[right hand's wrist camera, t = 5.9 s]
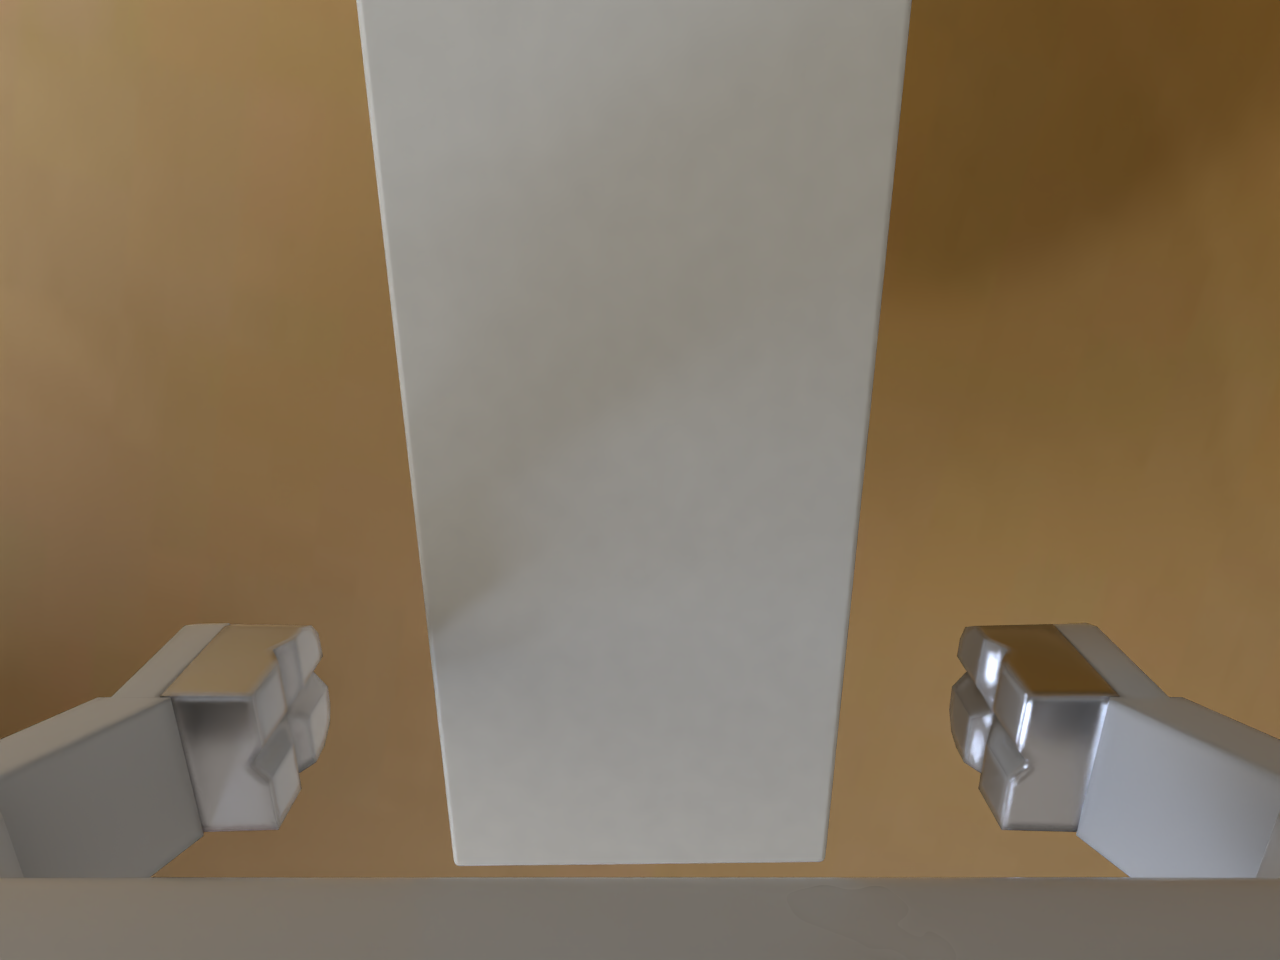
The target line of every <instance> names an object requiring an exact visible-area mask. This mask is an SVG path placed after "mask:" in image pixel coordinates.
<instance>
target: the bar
mask: <svg viewBox="0 0 1280 960" xmlns="http://www.w3.org/2000/svg"><path fill="white" fill-rule="evenodd" d="M356 2H357V11H358V20H359V28H360V37H361V46H362V55H363V64H364V72H365V81H366V90H367V99H368V108H369V117H370V125H371V134H372V143H373V152H374V161H375V169H376V178H377V187H378V196H379V205H380V214H381V222H382V231H383V240H384V249H385V258H386V266H387V275H388V284H389V293H390V302H391V311H392V319H393V328H394V337H395V346H396V355H397V363H398V372H399V381H400V390H401V399H402V408H403V416H404V425H405V434H406V443H407V452H408V461H409V469H410V478H411V487H412V496H413V505H414V513H415V522H416V531H417V540H418V549H419V558H420V566H421V575H422V584H423V593H424V602H425V610H426V619H427V628H428V637H429V646H430V655H431V663H432V672H433V681H434V690H435V699H436V707H437V716H438V725H439V734H440V743H441V752H442V760H443V769H444V778H445V787H446V796H447V804H448V813H449V822H450V831H451V840H452V849H453V857H454V862H455V864H456V865H458V866H498V865H587V864H675V863H763V862H821V861H823V860H824V858H825V854H826V844H827V835H828V825H829V815H830V805H831V795H832V785H833V775H834V765H835V755H836V745H837V736H838V726H839V716H840V706H841V696H842V686H843V676H844V666H845V656H846V647H847V637H848V627H849V617H850V607H851V597H852V587H853V577H854V567H855V558H856V548H857V538H858V528H859V518H860V508H861V498H862V488H863V478H864V468H865V459H866V449H867V439H868V429H869V419H870V409H871V399H872V389H873V379H874V370H875V360H876V350H877V340H878V330H879V320H880V310H881V300H882V290H883V280H884V271H885V261H886V251H887V241H888V231H889V221H890V211H891V201H892V191H893V182H894V172H895V162H896V152H897V142H898V132H899V122H900V112H901V102H902V92H903V83H904V73H905V63H906V53H907V43H908V33H909V23H910V13H911V3H912V0H356Z"/></svg>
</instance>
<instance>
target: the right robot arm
mask: <svg viewBox="0 0 1280 960" xmlns="http://www.w3.org/2000/svg"><path fill="white" fill-rule="evenodd" d="M322 657H323V654H322V649H321V644H320V639H319V634H318V632H317V631H316V630H315V629H314V628H313V627H312V626H311V625H266V624H229V623H213V624H191V625H185V626H184V627H182V628H181V629H180V630H179V631H178V632H177V633H176V634H175V635H174V636H173V637H172V638H171V639H170V640H169V641H168V642H167V643H166V644H165V645H164V646H163V647H162V648H161V649H160V650H159V651H158V652H157V653H156V654H155V655H154V656H153V657H152V658H151V659H150V660H149V661H148V662H147V663H146V664H145V665H144V666H143V667H141V668H140V669H139V670H138V671H137V672H136V673H135V674H134V675H133V676H132V677H131V678H130V679H129V680H128V681H127V682H126V683H125V684H124V685H123V686H122V687H121V688H120V689H119V690H118V691H117V692H116V693H115V694H114V695H113V696H112V697H97V698H95V699H93V700H90V701H88V702H86V703H83V704H81V705H79V706H76V707H74V708H72V709H70V710H67V711H65V712H63V713H60V714H58V715H56V716H53V717H51V718H49V719H47V720H44V721H42V722H40V723H37V724H35V725H33V726H30V727H28V728H26V729H23V730H21V731H19V732H17V733H14V734H12V735H10V736H7V737H5V738H3V739H0V960H1280V740H1279V739H1277V738H1275V737H1272V736H1270V735H1268V734H1266V733H1263V732H1261V731H1259V730H1256V729H1254V728H1252V727H1249V726H1247V725H1245V724H1243V723H1240V722H1238V721H1236V720H1233V719H1231V718H1229V717H1226V716H1224V715H1222V714H1220V713H1217V712H1215V711H1213V710H1210V709H1208V708H1206V707H1203V706H1201V705H1199V704H1197V703H1194V702H1192V701H1190V700H1187V699H1185V698H1183V697H1168V696H1167V695H1166V694H1165V693H1164V692H1163V691H1162V690H1161V689H1160V688H1159V687H1158V686H1157V685H1156V684H1155V683H1154V682H1153V681H1152V680H1151V679H1150V678H1149V677H1148V676H1147V675H1146V674H1145V673H1144V672H1143V671H1142V670H1141V669H1140V668H1139V667H1138V666H1137V665H1136V664H1135V663H1134V662H1133V661H1131V660H1130V659H1129V658H1128V657H1127V656H1126V655H1125V654H1124V653H1123V652H1122V651H1121V650H1120V649H1119V648H1118V647H1117V646H1116V645H1115V644H1114V643H1113V642H1112V641H1111V640H1110V639H1109V638H1108V637H1107V636H1106V635H1105V634H1104V633H1103V632H1102V631H1101V630H1100V629H1099V628H1098V627H1096V626H1094V625H1091V624H1088V623H1072V624H1039V625H999V626H971V627H965V629H964V631H963V634H962V636H961V638H960V642H959V648H958V654H957V657H958V658H959V660H960V662H961V663H962V665H963V666H964V668H965V669H966V671H967V672H966V673H965V674H964V675H963V676H962V677H961V678H960V679H959V680H958V681H957V682H956V683H955V684H954V685H953V686H952V692H951V700H950V709H949V711H950V722H951V732H952V735H953V738H954V742H955V745H956V748H957V750H958V752H959V754H960V756H961V757H962V759H963V761H964V763H966V764H968V765H969V766H971V767H972V768H974V769H975V770H977V771H978V772H980V773H981V776H980V782H979V788H978V789H979V790H980V792H981V794H982V796H983V797H984V799H985V801H986V803H987V805H988V806H989V808H990V810H991V812H992V813H993V815H994V817H995V819H996V821H997V822H998V824H999V826H1000V828H1001V829H1002V830H1027V831H1064V832H1077V834H1076V835H1077V836H1078V837H1079V838H1080V839H1082V840H1083V841H1084V842H1086V843H1087V844H1088V845H1089V846H1091V847H1092V848H1093V849H1095V850H1096V851H1097V852H1099V853H1100V854H1101V855H1102V856H1104V857H1105V858H1106V859H1108V860H1109V861H1110V862H1111V863H1113V864H1114V865H1115V866H1117V867H1118V868H1119V869H1120V870H1122V871H1123V872H1124V873H1126V874H1127V875H1128V876H1129V877H1008V878H150V877H151V876H152V875H153V874H155V873H156V872H157V871H159V870H160V869H161V868H162V867H164V866H165V865H166V864H168V863H169V862H170V861H171V860H173V859H174V858H175V857H177V856H178V855H179V854H181V853H182V852H183V851H184V850H186V849H187V848H188V847H190V846H191V845H192V844H193V843H195V842H196V841H197V840H199V839H200V838H201V837H202V836H203V835H204V834H203V832H216V831H251V830H279V828H280V826H281V824H282V822H283V821H284V819H285V817H286V815H287V814H288V812H289V810H290V808H291V806H292V805H293V803H294V801H295V799H296V797H297V796H298V794H299V792H300V790H301V782H300V776H299V773H300V772H302V771H303V770H305V769H306V768H308V767H309V766H311V765H312V764H314V763H316V761H317V759H318V757H319V755H320V753H321V752H322V750H323V748H324V746H325V742H326V738H327V733H328V729H329V725H330V698H329V691H328V686H327V685H326V684H325V683H324V682H323V681H322V680H321V679H320V678H319V677H318V676H317V675H316V674H315V673H314V672H313V671H314V669H315V668H316V666H317V665H318V663H319V662H320V660H321V658H322Z"/></svg>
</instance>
